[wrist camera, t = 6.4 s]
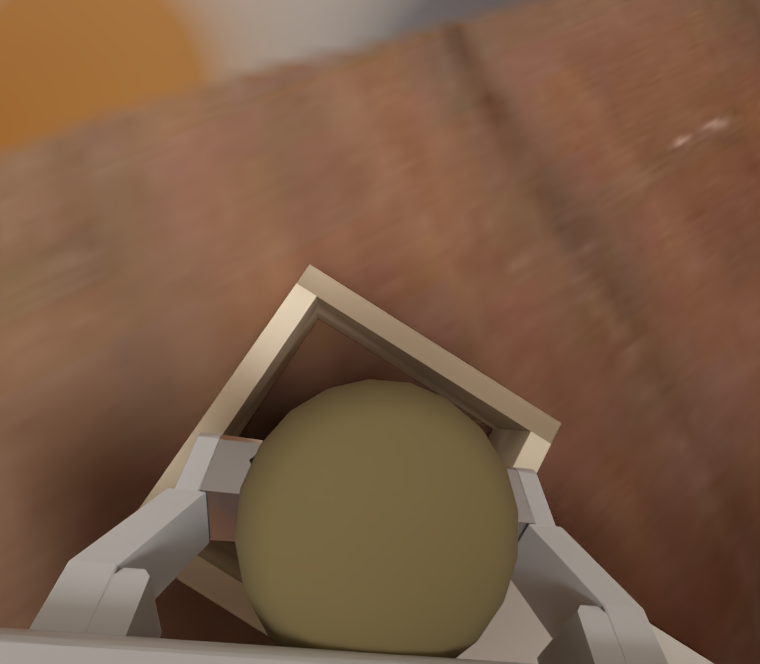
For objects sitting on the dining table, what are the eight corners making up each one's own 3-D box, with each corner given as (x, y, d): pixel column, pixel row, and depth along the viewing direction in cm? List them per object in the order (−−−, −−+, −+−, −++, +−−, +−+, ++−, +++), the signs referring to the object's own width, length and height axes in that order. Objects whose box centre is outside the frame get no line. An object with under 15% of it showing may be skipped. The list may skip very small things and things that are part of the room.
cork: (268, 393, 18) (183, 357, 7) (418, 382, 19) (547, 335, 8) (274, 557, 17) (184, 811, 6) (433, 538, 17) (606, 731, 7)
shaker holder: (312, 292, 19) (309, 264, 15) (518, 422, 19) (561, 423, 15) (159, 515, 16) (116, 540, 13) (393, 662, 16) (411, 725, 13)
